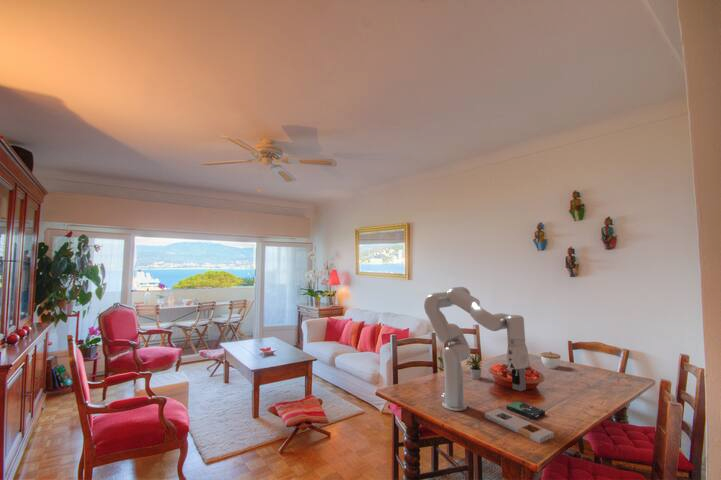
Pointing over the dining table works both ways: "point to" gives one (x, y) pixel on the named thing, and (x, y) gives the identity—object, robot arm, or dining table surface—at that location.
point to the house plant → (475, 367)
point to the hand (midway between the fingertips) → (518, 382)
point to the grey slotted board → (519, 425)
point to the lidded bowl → (550, 360)
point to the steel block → (520, 380)
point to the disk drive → (526, 410)
